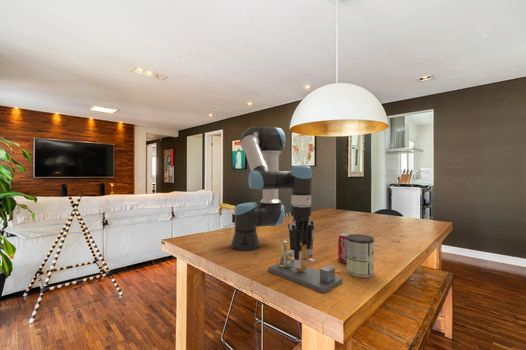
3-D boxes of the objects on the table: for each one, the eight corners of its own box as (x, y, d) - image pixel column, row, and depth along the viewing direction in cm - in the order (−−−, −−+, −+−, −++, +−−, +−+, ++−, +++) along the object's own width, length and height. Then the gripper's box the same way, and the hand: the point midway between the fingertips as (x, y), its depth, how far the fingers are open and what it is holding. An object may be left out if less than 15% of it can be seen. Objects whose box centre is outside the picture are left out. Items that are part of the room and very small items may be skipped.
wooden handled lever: (283, 266, 99) (283, 242, 99) (292, 263, 103) (292, 240, 103) (310, 276, 90) (311, 249, 90) (319, 272, 94) (319, 246, 94)
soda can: (357, 263, 110) (357, 236, 110) (342, 264, 109) (342, 236, 109) (349, 258, 117) (349, 232, 117) (335, 258, 116) (335, 233, 116)
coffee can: (345, 266, 107) (345, 233, 107) (370, 268, 104) (371, 234, 104) (347, 276, 97) (347, 239, 97) (376, 278, 94) (376, 241, 94)
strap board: (268, 270, 101) (268, 267, 101) (287, 263, 109) (287, 260, 109) (324, 293, 82) (324, 288, 82) (342, 282, 91) (342, 278, 91)
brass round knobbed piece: (275, 265, 103) (275, 241, 103) (283, 262, 107) (283, 239, 107) (290, 271, 97) (291, 245, 97) (298, 267, 101) (299, 243, 101)
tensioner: (319, 281, 88) (319, 268, 88) (327, 277, 91) (327, 265, 91) (327, 284, 86) (327, 271, 86) (334, 280, 89) (335, 267, 89)
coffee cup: (314, 258, 117) (314, 226, 117) (296, 256, 119) (296, 225, 119) (314, 252, 125) (314, 222, 125) (297, 251, 127) (297, 221, 127)
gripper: (295, 208, 88) (295, 275, 88) (321, 205, 100) (320, 263, 100) (280, 206, 94) (279, 269, 94) (305, 203, 105) (305, 259, 105)
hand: (300, 266), depth 97 cm, fingers closed on wooden handled lever, 3 cm apart
